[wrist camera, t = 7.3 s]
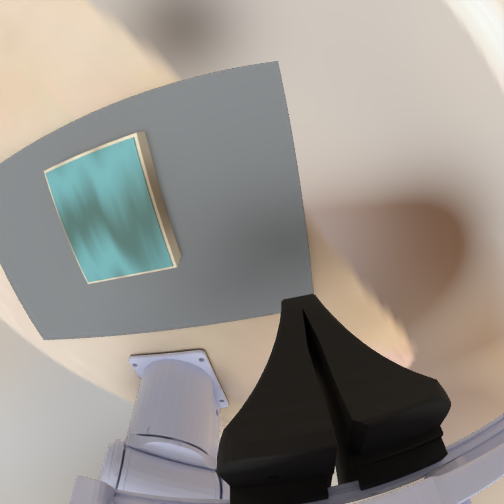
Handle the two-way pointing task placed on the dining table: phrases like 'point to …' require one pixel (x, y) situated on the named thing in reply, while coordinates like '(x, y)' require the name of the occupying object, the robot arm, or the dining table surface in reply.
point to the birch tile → (114, 210)
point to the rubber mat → (171, 211)
